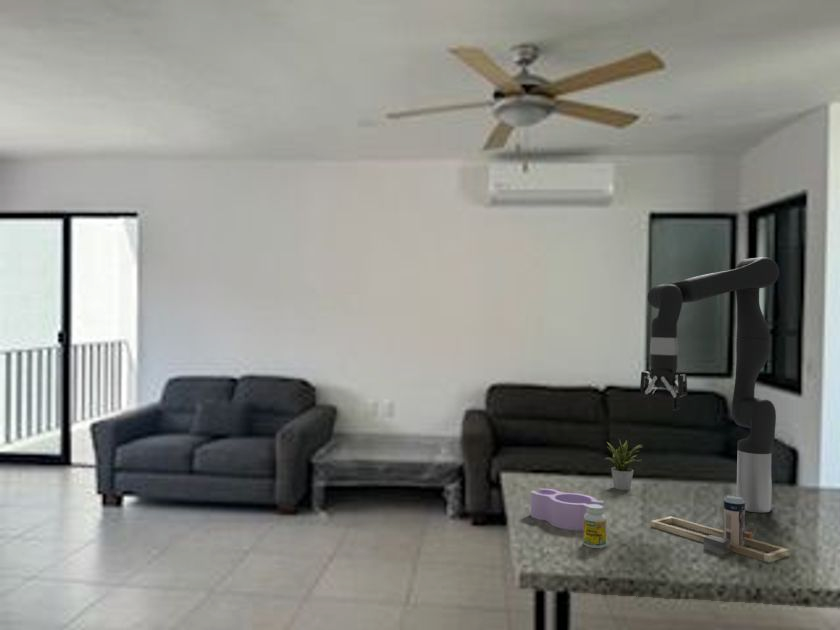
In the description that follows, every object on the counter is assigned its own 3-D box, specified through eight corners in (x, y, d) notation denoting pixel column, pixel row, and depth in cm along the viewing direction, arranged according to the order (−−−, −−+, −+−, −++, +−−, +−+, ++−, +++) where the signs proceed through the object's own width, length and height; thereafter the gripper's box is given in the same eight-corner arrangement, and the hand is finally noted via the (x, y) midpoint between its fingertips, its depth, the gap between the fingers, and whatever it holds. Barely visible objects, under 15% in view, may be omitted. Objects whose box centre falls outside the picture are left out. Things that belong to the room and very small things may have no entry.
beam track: (674, 520, 192) (674, 509, 192) (792, 554, 165) (792, 542, 165) (639, 529, 183) (639, 517, 183) (758, 566, 156) (758, 553, 156)
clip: (521, 517, 192) (522, 492, 192) (548, 510, 201) (548, 486, 201) (582, 535, 177) (583, 508, 178) (608, 526, 186) (609, 500, 186)
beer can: (746, 549, 168) (747, 500, 168) (725, 547, 169) (726, 498, 169) (741, 543, 173) (742, 495, 173) (721, 541, 174) (721, 494, 174)
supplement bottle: (606, 543, 171) (607, 504, 171) (605, 549, 165) (606, 510, 166) (584, 540, 172) (584, 502, 172) (582, 547, 167) (583, 507, 167)
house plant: (652, 495, 220) (653, 444, 220) (609, 493, 221) (610, 442, 221) (639, 484, 235) (640, 436, 235) (598, 483, 235) (599, 435, 235)
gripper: (693, 354, 197) (692, 411, 196) (651, 351, 208) (650, 405, 208) (677, 354, 192) (676, 412, 192) (635, 352, 204) (634, 406, 204)
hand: (662, 408), depth 200 cm, fingers open, 8 cm apart
